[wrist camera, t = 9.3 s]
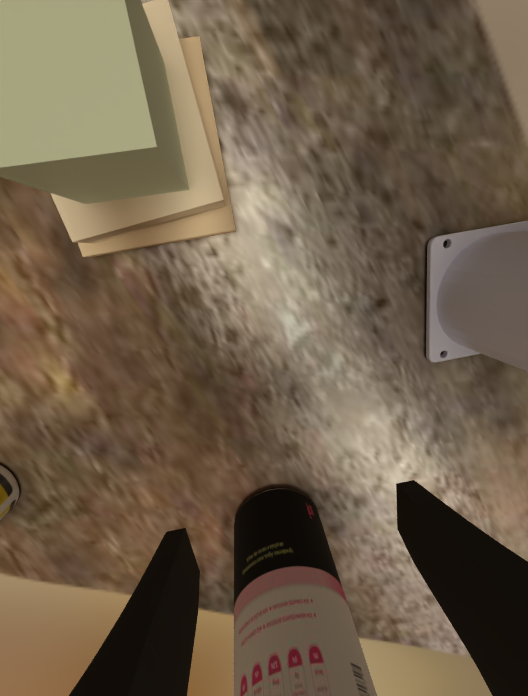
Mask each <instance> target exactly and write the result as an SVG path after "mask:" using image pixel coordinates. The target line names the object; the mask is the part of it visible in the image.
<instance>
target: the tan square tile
mask: <svg viewBox="0 0 528 696" xmlns="http://www.w3.org/2000/svg"><path fill="white" fill-rule="evenodd" d="M142 5H143V8H144V11H145V13H146V16H147V18H148V21H149V24H150V26H151V29H152V32H153V34H154V37H155V39H156V42H157V45H158V47H159V50H160V52H161V55H162V58H163V60H164V64H165V69H166V74H167V79H168V84H169V89H170V94H171V99H172V104H173V109H174V114H175V120H176V125H177V130H178V135H179V140H180V145H181V150H182V155H183V160H184V165H185V170H186V175H187V180H188V185H189V190H185V191H178V192H171V193H163V194H156V195H149V196H142V197H135V198H127V199H120V200H113V201H106V202H99V203H91V204H83V203H80V202H77V201H74V200H71V199H68V198H65V197H61V196H58V195H55V194H52V193H51V196H52V198H53V200H54V202H55V204H56V207H57V209H58V211H59V213H60V216H61V218H62V220H63V222H64V224H65V227H66V229H67V231H68V233H69V235H70V238H71V240H72V242H78V243H92V244H94V243H97V242H101V241H104V240H108V239H111V238H115V237H119V236H122V235H126V234H129V233H133V232H136V231H140V230H143V229H147V228H151V227H154V226H158V225H161V224H165V223H168V222H172V221H175V220H179V219H183V218H186V217H190V216H193V215H197V214H200V213H204V212H208V211H211V210H215V209H218V208H222V207H225V203H224V199H223V195H222V192H221V188H220V185H219V181H218V178H217V174H216V170H215V167H214V163H213V160H212V156H211V153H210V149H209V145H208V142H207V138H206V135H205V131H204V127H203V124H202V120H201V117H200V113H199V110H198V106H197V102H196V99H195V95H194V92H193V88H192V85H191V81H190V77H189V74H188V70H187V67H186V63H185V60H184V56H183V52H182V49H181V45H180V42H179V38H178V35H177V31H176V27H175V24H174V20H173V17H172V13H171V9H170V6H169V2H168V0H154V1H151V2H147V3H144V4H142Z"/></svg>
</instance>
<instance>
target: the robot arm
mask: <svg viewBox="0 0 528 696" xmlns="http://www.w3.org/2000/svg"><path fill="white" fill-rule="evenodd" d="M445 240H446V241H447V245H446V247H445V248H444V247H443V242H444V241H445ZM442 351H444V352H443V354H442V355H441V356H440V353H441V352H442ZM477 354H484V355H486V356H489V357H491V358H494V359H496V360H499V361H501V362H504V363H506V364H509V365H511V366H514V367H516V368H519V369H521V370H524V371H526V372H528V220H527V221H521V222H515V223H510V224H504V225H498V226H492V227H487V228H481V229H475V230H470V231H464V232H458V233H453V234H447V235H441V236H436V237H433V238H432V239H430V240H429V242H428V246H427V316H426V358H427V359H428V360H429V361H431V362H441V361H446V360H451V359H456V358H461V357H467V356H472V355H477ZM396 489H397V526H398V531H399V533H400V535H401V537H402V539H403V541H404V543H405V546H406V548H407V550H408V552H409V554H410V556H411V558H412V560H413V562H414V563H415V565H416V567H417V568H418V570H419V572H420V573H421V575H422V577H423V578H424V580H425V582H426V583H427V585H428V587H429V588H430V590H431V592H432V593H433V595H434V596H435V598H436V600H437V601H438V603H439V604H440V606H441V608H442V609H443V611H444V613H445V614H446V616H447V617H448V619H449V621H450V622H451V624H452V626H453V627H454V629H455V630H456V632H457V634H458V635H459V637H460V639H461V640H462V642H463V643H464V645H465V647H466V648H467V650H468V652H469V653H470V655H471V657H472V659H473V660H474V662H475V664H476V665H477V667H478V669H479V671H480V673H481V675H482V677H483V678H484V680H485V682H486V684H487V686H488V688H489V690H490V692H491V694H492V695H493V696H528V562H527V561H526V560H524V559H523V558H521V557H520V556H518V555H517V554H515V553H514V552H512V551H511V550H509V549H508V548H506V547H505V546H503V545H502V544H500V543H499V542H497V541H496V540H494V539H493V538H491V537H490V536H489V535H487V534H486V533H484V532H483V531H482V530H480V529H479V528H477V527H476V526H475V525H473V524H472V523H470V522H469V521H468V520H466V519H465V518H463V517H462V516H461V515H459V514H458V513H457V512H455V511H454V510H453V509H451V508H450V507H449V506H447V505H446V504H445V503H443V502H442V501H441V500H439V499H438V498H437V497H435V496H434V495H433V494H431V493H430V492H429V491H428V490H426V489H425V488H424V487H422V486H421V485H420V484H418V483H417V482H416V481H414V480H412V481H408V482H403V483H398V484H396ZM199 578H200V571H199V568H198V565H197V562H196V559H195V556H194V553H193V550H192V547H191V544H190V541H189V538H188V535H187V532H186V529H185V528H183V529H178V530H173V531H168V532H166V534H165V535H164V537H163V539H162V541H161V543H160V545H159V547H158V548H157V550H156V552H155V554H154V556H153V558H152V560H151V562H150V564H149V565H148V567H147V569H146V571H145V573H144V575H143V576H142V578H141V580H140V582H139V584H138V585H137V587H136V589H135V591H134V592H133V594H132V596H131V598H130V600H129V601H128V603H127V605H126V607H125V609H124V610H123V612H122V613H121V615H120V617H119V618H118V620H117V622H116V623H115V625H114V627H113V628H112V630H111V631H110V633H109V635H108V636H107V638H106V640H105V641H104V643H103V644H102V646H101V648H100V649H99V651H98V653H97V654H96V656H95V657H94V659H93V661H92V662H91V664H90V665H89V666H88V668H87V670H86V671H85V673H84V674H83V676H82V677H81V679H80V680H79V682H78V683H77V685H76V686H75V687H74V689H73V690H72V692H71V693H70V695H69V696H187V689H188V682H189V675H190V668H191V660H192V653H193V646H194V637H195V631H196V623H197V615H198V602H199Z"/></svg>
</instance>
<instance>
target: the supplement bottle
mask: <svg viewBox="0 0 528 696" xmlns="http://www.w3.org/2000/svg"><path fill="white" fill-rule="evenodd" d="M18 497H19V487H18V484H17V481H16V479H15V478H14V476H13V475H12V474H11V473H10V472H9V471H8V470H7V469H6V468H4V467H3V466H1V465H0V522H1V521H2V519H3V518H4V517H5V516H6V515H7V514H8V513H9V511H10V510H11V509H12V508H13V507H14V505H15V504H16V502H17V500H18Z"/></svg>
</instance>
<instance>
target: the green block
mask: <svg viewBox="0 0 528 696" xmlns="http://www.w3.org/2000/svg"><path fill="white" fill-rule="evenodd" d="M0 177H3V178H6V179H9V180H12V181H15V182H18V183H21V184H24V185H27V186H31V187H34V188H37V189H40V190H43V191H46V192H49V193H52V194H55V195H58V196H61V197H65V198H68V199H71V200H74V201H77V202H80V203H83V204H91V203H99V202H106V201H113V200H120V199H127V198H135V197H142V196H149V195H156V194H163V193H171V192H178V191H185V190H189V185H188V180H187V175H186V170H185V165H184V160H183V155H182V150H181V145H180V140H179V135H178V130H177V125H176V120H175V114H174V109H173V104H172V99H171V94H170V89H169V84H168V79H167V74H166V69H165V64H164V60H163V58H162V55H161V52H160V50H159V47H158V45H157V42H156V39H155V37H154V34H153V32H152V29H151V26H150V24H149V21H148V18H147V16H146V13H145V11H144V8H143V5H142V3H141V0H0Z"/></svg>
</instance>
